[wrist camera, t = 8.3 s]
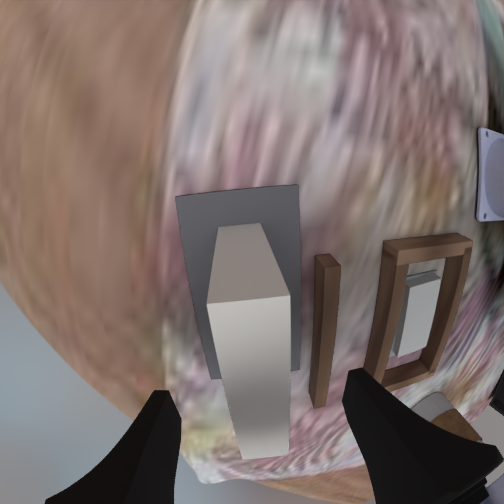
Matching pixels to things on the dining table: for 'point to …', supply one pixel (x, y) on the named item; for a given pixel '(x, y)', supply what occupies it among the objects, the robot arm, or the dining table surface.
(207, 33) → the dining table surface
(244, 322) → the white rectangular block
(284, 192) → the mat
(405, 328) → the offcut upper
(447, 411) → the coffee cup
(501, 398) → the magazine
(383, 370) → the brown wooden frame
